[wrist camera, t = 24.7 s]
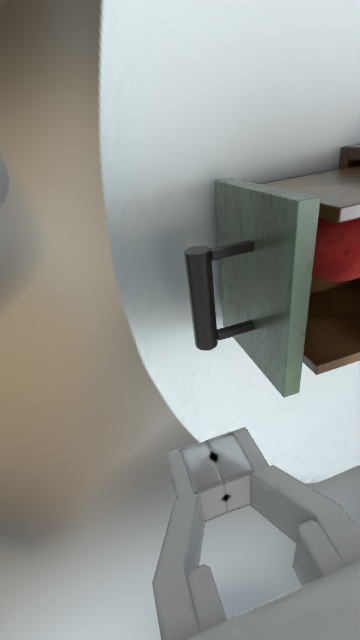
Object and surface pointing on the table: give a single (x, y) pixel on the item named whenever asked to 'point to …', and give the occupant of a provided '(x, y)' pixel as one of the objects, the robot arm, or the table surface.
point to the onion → (337, 250)
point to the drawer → (278, 276)
